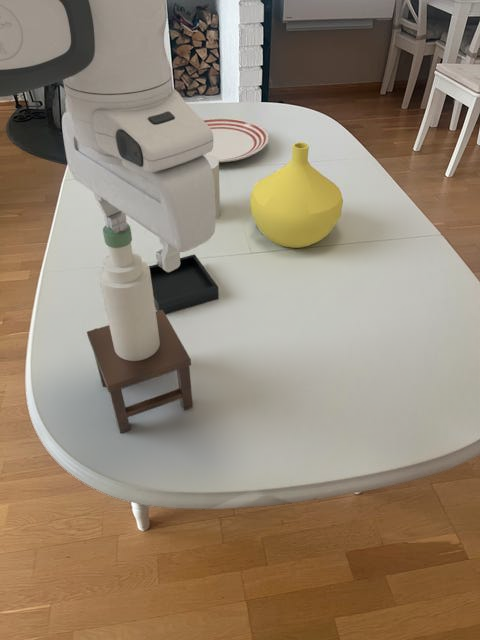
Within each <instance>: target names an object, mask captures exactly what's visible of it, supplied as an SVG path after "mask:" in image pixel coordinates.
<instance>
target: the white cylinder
mask: <svg viewBox="0 0 480 640" xmlns="http://www.w3.org/2000/svg"><path fill="white" fill-rule="evenodd" d="M204 156H205V157H206V159H207V160H208V162H209V164H210V166H211V169H212V172H213V177H214V186H215V203H216V220H218V219H219V218H220V216H221V195H220V194H221V193H220V192H221V191H220V163H219V160H218V159H217V158H216V157H214V156H212V155H208V154H204Z"/></svg>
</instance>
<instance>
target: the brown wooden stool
mask: <svg viewBox="0 0 480 640" xmlns="http://www.w3.org/2000/svg"><path fill="white" fill-rule="evenodd" d="M155 311H156V318H157V325H158V333H159V340H160V345H159V348H158V350H157V351H156V352H155V353H154V354H153V355H152V356H150V357H148V358H146V359H143V360H139V361H129V360H125V359H123V358H121V357H119V356H118V355H117V354H116V352H115V349H114V345H113V340H112V336H111V331H110V327H109V324H108V325H105V326H102V327H101V326H100V327H98V328H95V329H91V330H88V331H86V335H87V338H88V341H89V344H90V347H91V349H92V352H93V356H94V359H95V364H96V367H97V370H98V375H99V379H100V382H101V385H102V387H103V388H104V387H106V389H107V392H108V393H109V397H110V400H111V401H110V402H111V405H112V408H113V413H114V416H115V420H116V425H117V427H118V430H119V433H120V434H123V433H126V432H129V431H131V425H130V422H129V418H130V417H133V416H136V415H138V414H141V413H144V412H147V411H151V410H152V409H156V408H159V407H161V406H164V405H167V404H170V403H173V402H175V401H178V400H179V402H180V406H181V408H182V409H183V411H186V410H189V409H192V408H194V404H193V393H192V379H191V370H190V369H191V368H190V367H191V366H192V360H191V359H192V358H191V357H190V355H189V354H188V351H187V349H186V348H185V346H184V345H183V343H182V341H181V340H180V337H179V336H178V334H177V332H176V331H175V328H174V326H173V325H172V324H171V322H170V319H169V318H168V317H167V314H165V313H164V311H163V310H159V311H157V310H155ZM172 372H176V375H177V384H178V389H175V390H171V391H168V392H166V393H162V394H160V395H157V396H154V397H151V398H148V399H146V400H143V401H140V402H137V403H134V404H132V405H128V406H126V404H125V398H124V395H123V390H122V389H124V388H127V387H130V386H133V385H136V384H139V383H143V382H145V381H148V380H151V379H154V378H157V377H160V376H163V375H166V374H169V373H172Z"/></svg>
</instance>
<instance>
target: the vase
mask: <svg viewBox="0 0 480 640" xmlns="http://www.w3.org/2000/svg"><path fill="white" fill-rule="evenodd" d="M309 147H310V145H309V144H308V143H306V142H298V141H297V142H295V143H293V144H292V148H291V149H292V151H291V153H292V154H291V159H290V161H289V162H288V163H287V164H286V165H284V166H283V167H280V168H279V169H278V170H276V171H274V172H273V173H271V174H269V175H267V176H264V177H263V178H261V179H260V180H258V181H257V182H256V183H255V184H254V186H253V188H252V191H251V193H250V195H249V209H250V213H251V216H252V218H253V221H254V223H255V225H256V227H257V228H258V229H259V231H260V232H261V234H263V235H264V237H266V238H267V239H268V240H269V241H271V242H272V243H275V244H277V245H279V246H281V247H285V248H292V249H295V248H296V249H297V248H299V249H300V248H306V247H308V246H311V245H313V244H316V243H318V242H320V241H321V240H323V239H324V238H325V237H326V236H328V235H329V234H330V233H331V231H332V230H333V229H334V227H335V225H336V224H337V222H338V221H339V220H340V218H341V215H342V210H343V204H344V199H343V194H342V192H341V190H340V187H338V186H337V184H335V183H334V182H333V181H332V180H331V179H329V178H328V177H326V176H325V175H323V174H322V173H321V172H320V171H319V170H317V169H316V168H315V167H313V166H312V165H311V163H310V162H309V159H308V158H309V150H310V149H309Z"/></svg>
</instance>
